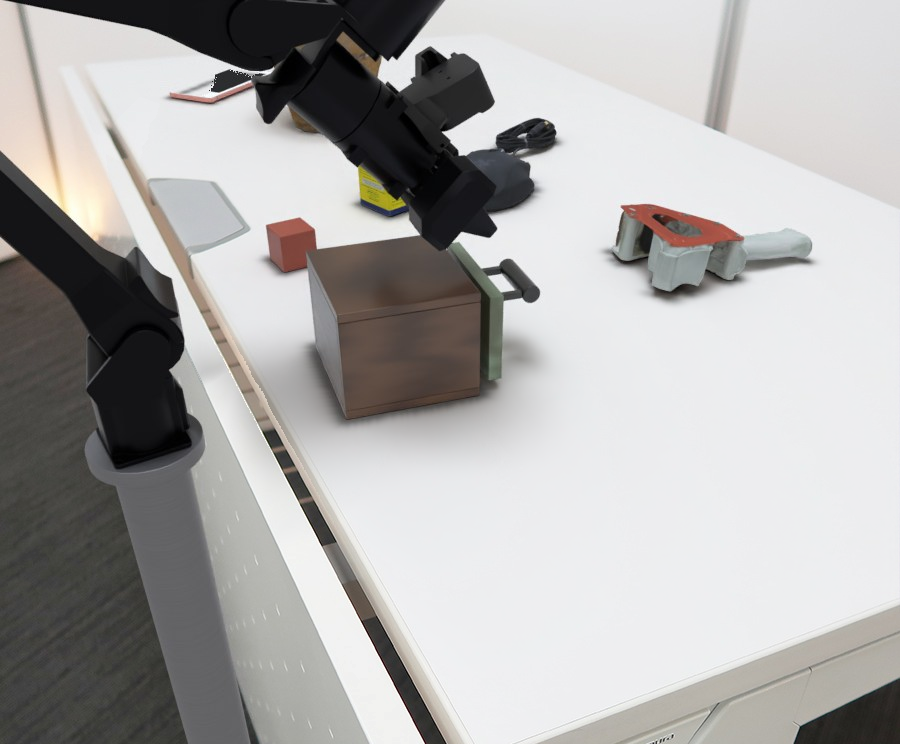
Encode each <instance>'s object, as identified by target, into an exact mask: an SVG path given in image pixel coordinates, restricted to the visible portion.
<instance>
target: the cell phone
mask: <svg viewBox="0 0 900 744" xmlns="http://www.w3.org/2000/svg"><path fill="white" fill-rule="evenodd" d="M230 70H231V69H229V68H227V69H224V70H222V72H221V71H219V72H216V73H217V74H216V73H214V74H215V79H216V80H215V79H214V86H213V88H211V93H208V94H206V95H205V94H204V96H205V97H200V96H193V95H186V94H179V93H172V92H169V96H170V97H171V98H174V99H182V100H189V101H196V102H202V103H214V102H216V101H219V100H222V99H223V98H227V97H229V96H231V95H233V94H236V93H238V92H240V91H243V90H245V89H248V88H251V87H254V86H253V84H252V82H251V76H249V75H248V74H247V75H246V73H244V74H243V73H242V72H239V73H238V71H236V72H237V73H235V71H234V72H233V70H231V71H230ZM271 72H272V71H270V70H266V71H259V74H255V76H265V75H268V74H270V73H271ZM240 73H242V74H240ZM257 73H258V72H257ZM237 74H238V75H237ZM245 75H246V76H245ZM248 76H249V77H248ZM253 76H254V75H253ZM253 76H252V77H253ZM216 77H217V78H216ZM212 82H213V81H212ZM215 82H216V83H215ZM249 82H250V83H249ZM244 84H245V85H244ZM211 86H212V85H211ZM209 91H210V90H209ZM202 96H203V95H202ZM207 97H208V98H207ZM211 97H212V98H211Z"/></svg>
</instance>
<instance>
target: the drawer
mask: <svg viewBox="0 0 900 744" xmlns="http://www.w3.org/2000/svg"><path fill="white" fill-rule="evenodd" d="M446 250H447V251H448V252H449V254H450V255H451V256H452V257H453V259H454V260H455V261H456V262H457V264H458V265H459V266H460V267H461V269H462V270H463V271H464V273H465V274H466V275H467V276H468V278H469V279H470V280H471V281H472V283H473V284H474V285H475V286H476V288H477V289H478V290H479V292H480V293H481V300H480V302H481V308H480V371H482V373H483V374H484V376H485V377H486V379H487V380H488V381H492V380H498V379H502V373H503V372H502V371H503V341H504V340H503V339H504V338H503V337H504V333H503V332H504V303H505V302H506V301H514V300H520V299H522V301H524V302H525V303H527V304H533V303H536V301H538V300H539V298H540V297H541V289H540V288H539V287H538V285H536V284H535V282H534V281H533V280H532V279H531V278H530V276H528V275H527V274H526V273H525V272H524V270H523V269H522V268H521V267H520V266H519V265H518V263H516V261H515V260H514V259H512V258H505V259H503V260H501V262H500V263H499V265H496V266H489V267H481V266H480V265H479V264H478V263H477V262H476V260H475V259H474V258H473V256H471V255H470V253H469V252H468V251H467V249H466V248H465V247H464V246H463V245H462V244H461V242H459V241H456V242H455V241H454V242H452V243H451V245H450V246H449V247H448V248H447V249H446ZM498 275H502V277H503V278H504V279H505V280H506V281H507V283H508V284H509V285H510V286H511V287H512V288H513V289H514V290H508V291H502V292H501V291H500V290H499V288H498V287H497V286H496V285H495V283H494V282H493V281H492V280H491V279H490V276H498Z"/></svg>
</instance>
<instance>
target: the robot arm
mask: <svg viewBox="0 0 900 744" xmlns="http://www.w3.org/2000/svg"><path fill="white" fill-rule="evenodd" d="M3 1H5V2H10V3H15V4H20V5H25V6H30V7H35V8H40V9H44V10H50V11H53V12H54V11H55V12H59V13H64V14H69V15H74V16H80V17H84V18H89V19H93V20H99V21H103V22H109V23H114V24H118V25H124V26H128V27H134V28H139V29H144V30H147V31H150V32H153V33H156V34H157V35H161V36H164V37H165V38H169V39H170V40H173V41H175V42H176V43H179V44H180V45H183V46H185V47H187V48H189V49H191V50H193V51H195V52H197V53H200V54H202V55H204V56H207V57H209V58H212V59H215V60H217V61H220V62H223V63H225V64H228V65H230V66H233V67H238V68H241V69H244V70H248V71H270V70H272V69H273V70H272V71H271V73H270V74H268V75H265V76H253V77H252V78H251V82H252V84H253V86H252V87H253V89H254V92H255V101H256V102H255V108H256V110H257V112H258V114H259V116H260V118H261V120H262V121H263V123H264V124H266V125H271V124H273V123H274V121H275V120H276V119H277V118H278V116H279V115H280V114H281V112H282V111H283V110H284V109H285V107H286V106H287V107H288V106H289V107H290V108H291V109H293V110H294V111H295V112H296V113H297V114H299V115H300V116H301V117H302V118H303V119H305V120H306V121H307V122H308V123H309V124H311V125H312V126H313V127H314V128H315V129H317V130H318V131H319V132H320V133H319V134H321V135H322V136H323V137H325V138H326V139H327V140H328V141H329V142H330V143H331V144H333V146H335V147H337V149H339V150H340V151H341V153H342V154H343V156H344V157H345V158H346V160H347V161H349V162H350V163H351V164H352V165H353V166H354V167H356V168H357V169H358V166H360V167H362V168H363V169H364V170H365V171H366V172H368V173H369V174H370V175H371V176H372V177H374V178H375V179H376V180H377V181H378V182H380V183H381V185H382V186H383V187H384V189H385V190H386V191H387V193H388V194H389V195H391V196H392V197H393V198H394V199H395V200H398V199H399V198H400V197H401V199H402V200H403V202H404V203H405V204H406V205H407V207H408V208H409V210H408V221H409V222H410V224H411V225H412V226H413V227H414V229H415V230H416V231H417V233H418V234H419V235H421V237H422V238H424V239H425V240H426V241H427V242H429V243H430V244H431V245H432V246H433V247H435V248H436V249H437V250H438V251H439V252H440V251H442V250H445V249H446V250H447V248H448V247H449V246H450V245H451V243H454V242H455V240H456V239H457V238H458V237H459V236H460V235H461V233H464V234H468V235H473V236H478V237H482V238H487V239H490V238H492V236H494V234H495V233H496V232H497V231H498V226H497V225H496V223H495V222H494V221H493V218H492V217H491V216H490V214H489V213H488V211H486V210H485V209H484V206H485V205H486V203H487V202H488V201H489V200H490V199H491V198H492V197H493V195H494V194H495V191H496V187H497V185H496V184H495V183H494V182H493V181H492V180H491V179H490V178H488V177H487V176H486V175H485V174H484V173H483V172H482V171H481V170H480V169H479V168H478V167H477V166H476V165H475V164H474V163H473V162H472V161H470V160H469V159H468V158H467V157H466V154H462V155H460V153H459V149H458V148H457V147H456V146H455V145H454V144H453V143H452V142H451V141H452V140H451V139H450V138H449V137H448V136H447V135H446V134H445V133H444V132H449V131H451V130H454V129H455V128H456V127H458V126H460V125H461V124H463V123H464V122H466V121H468V120H470V119H471V118H473V117H475V116H476V115H478V114H480V113H481V114H485V113H486V112H487V111H489V110H490V109H491V108H493V107H494V105H495V103H496V100H495V97H494V95H493V94H492V91H491V88H490V86H489V84H488V81H487V79H486V77H485V74H484V71H483V69H482V67H481V65H480V63H479V62H478V61H477V60H475V59H474V58H472V57H471V56H470V55H468V54H467V53H463V52H461V53H456V52H455V51H453V52H451V53H450V54H449V55H450V57H449V58H447V57H446V56H445V55H443V54H442V53H441V52H439V51H438V50H437V49H435V47H433V46H430V45H429V46H427V47H426V48H424V49H423V50H421V51H420V52H418V53H416V54H415V55H414V76H413V77H411V78H410V84H408V85H407V86H406V87H404V88H402V89H401V90H400V91H399V90H398V89H397V88H396V87H395V86H394V85H393V84H391V83H390V82H389V81H388V80H387V81H386V82H383V80H381V79H379V77H378V78H377V77H376V76H375V75H374V74H373V73H372V72H371V71H370V70H369V69H368V68H367V67H366V66H365V65H363V64H362V63H361V62H360V61H359V60H358V59H357V58H356V57H355V56H354V55H353V54H352V53H351V52H349V51H348V50H347V49H346V48H345V47H344V46H343V45H342V44H341V43H340V42H339V41H338V40H337V39H338V37H339V36H340V35H341V33H342V32H344V33H345V34H346V35H347V36H348V37H349V38H350V39H351V40H353V41H354V42H355V43H356V44H357V45H358V46H359V47H360V48H361V49H362V50H363V51H364V52H365V53H366V54H367V55H368V56H370V57H371V58H372V59H373V60H374V61H375V62H376V63H377V61H378V60H379V59H380V58H381V57H380V55H381V56H382V59H385V61H387V62H389V61H390V60H391V59H392V58H393V59H394V60H396V61H399V59H400V58H401V57H402V55H403V54H404V53H405V51H406V50H407V49H408V48H409V46H411V44H412V43H413V42H414V40H415V39H416V38H417V36H418V35H419V34H420V32H421V31H422V30H423V29H424V27H425V26H426V25H427V24H428V23H429V21H430V20H431V19H432V18H433V17H434V15H435V14H436V13H437V11H439V9H440V8H441V7H442V6H443V4H444V3H445V2H446V0H3ZM341 18H342V20H341ZM304 44H306V45H305V46H304V47H303V48H302V49H301V50H300V49H299V48H297V47H298V46H301V45H304ZM277 64H278V65H277ZM275 65H277V66H276V67H275V69H274V66H275ZM0 238H1V239H2V240H3V241H4V242H5V243H6V244H7V245H8V246H10V247H11V248H12V249H13V250H14V251H15V253H17V254H18V255H20V256H21V257H22V258H23V259H24V260H25V261H26V262H28V263H29V264H30V265H31V266H32V268H34V269H36V270H37V271H38V273H40V274H41V275H42V276H43V277H44V278H46V280H48V281H49V282H50V283H51V284H53V285H54V286H55V288H57V289H58V290H59V291H60V292H61V293H62V294H63V295H64V296H65V298H66V299H67V300H68V301H69V304H70V305H71V307H72V308H73V310H74V312H75V313H76V315H77V316H78V318H79V320H80V321H81V323H82V325H83V326H84V328H85V330H86V331H87V333H88V334H87V335H86V336H85V388H86V390H85V391H86V393H87V394H88V396H89V399H90V401H91V405H92V409H93V413H94V415H95V419H96V423H97V427H96V429H95V430H96V432H97V435H98V437H99V439H100V441H101V443H102V445H103V447H104V449H105V451H106V453H107V455H108V457H109V459H110V461H111V463H112V464H113V466H114V468H115V469H123V468H126V467H130V466H133V465H136V464H139V463H142V462H145V461H149V460H152V459H155V458H158V457H161V456H164V455H168V454H171V453H174V452H177V451H180V450H183V449H187V448H189V447H191V446H192V440H191V438H190V436H189V435H188V433H187V432H186V430H188V429H189V428H190V422H189V417H188V413H189V412H188V409H187V404H186V403H187V402H186V399H185V394H184V389H183V387H182V385H181V384H180V383H179V381H178V380H177V378H176V376H174V375H173V374H172V372H171V371H170V370H171V369H173V368H174V367H175V366H176V365H177V364H178V363H179V361H180V360H181V359H182V356H183V354H184V351H185V335H184V328H183V324H182V319H181V314H180V308H179V303H178V300H177V296H176V293H175V287H174V283H173V278H172V277H170V276H169V275H166V274H163V273H161V271H159V270H158V269H156V268H155V267H154V266H153V265H152V263H151V262H150V261H149V259H148V258H147V256H146V255H145V253H144V252H143V251H142V250H141V249H140V248H139V247H138V246H134V247H133V248H132V249H131V250H130V251H129V252H128V254H127V255H126V256H125V257H124V256H121V255H120V254H118V253H115V252H112V251H110V250H108V249H106V248H104V247H103V246H101V245H100V244H99V243H97V242H96V241H95V240H94V239H93V238H92V237H91V236H90V235H89V234H88V233H87V232H86V231H85V230H84V229H83V228H82V227H81V226H80V225H79V224H78V223H77V222H76V221H74V219H72V217H71V216H69V215H68V214H67V213H66V212H65V211H64V210H63V209H62V208H61V207H60V206H59V205H58V204H57V203H56V202H55V201H54V200H53V199H52V198H51V197H50V196H49V195H47V193H45V192H44V191H43V190H42V188H40V186H38V185H37V184H36V183H35V182H34V181H33V180H32V179H31V178H30V177H29V176H28V175H27V174H25V173H24V172H23V171H22V170H21V169H20V168H19V167H18V165H16V164H15V163H14V162H13V161H12V160H11V159H10V158H9V157H8V156H7V155H5V153H4V152H2V151H1V150H0Z"/></svg>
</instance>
